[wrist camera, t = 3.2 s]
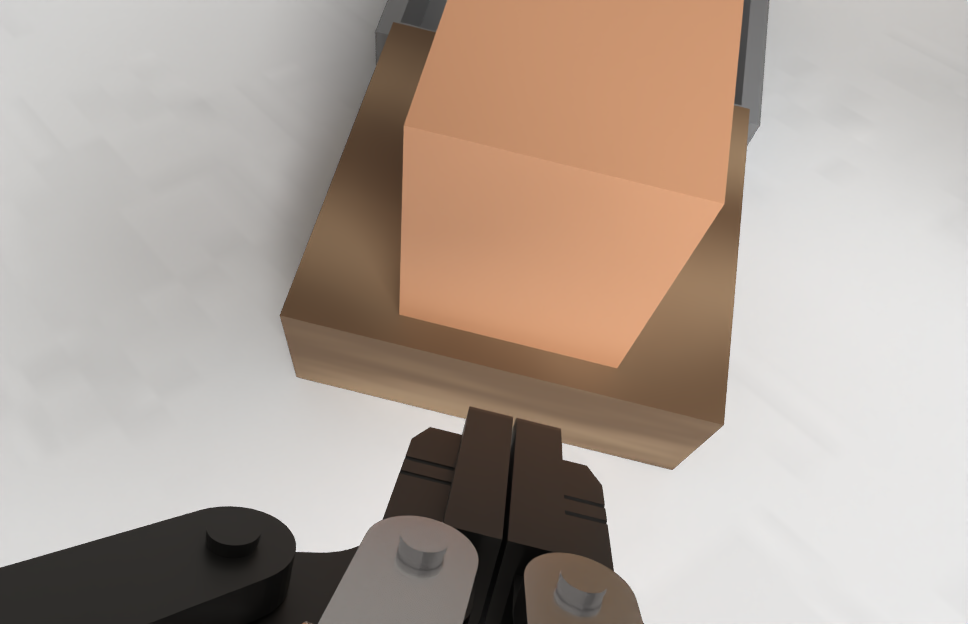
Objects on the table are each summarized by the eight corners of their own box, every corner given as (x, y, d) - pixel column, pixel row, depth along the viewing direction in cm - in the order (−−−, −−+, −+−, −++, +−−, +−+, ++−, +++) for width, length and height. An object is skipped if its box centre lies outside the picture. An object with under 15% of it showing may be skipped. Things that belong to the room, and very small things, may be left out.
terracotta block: (617, 368, 25) (724, 203, 17) (399, 314, 25) (403, 125, 17) (644, 191, 28) (745, -18, 20) (451, 143, 28) (476, -83, 20)
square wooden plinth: (672, 469, 29) (723, 425, 24) (296, 377, 29) (279, 315, 24) (703, 186, 35) (750, 109, 30) (392, 110, 35) (393, 21, 31)
